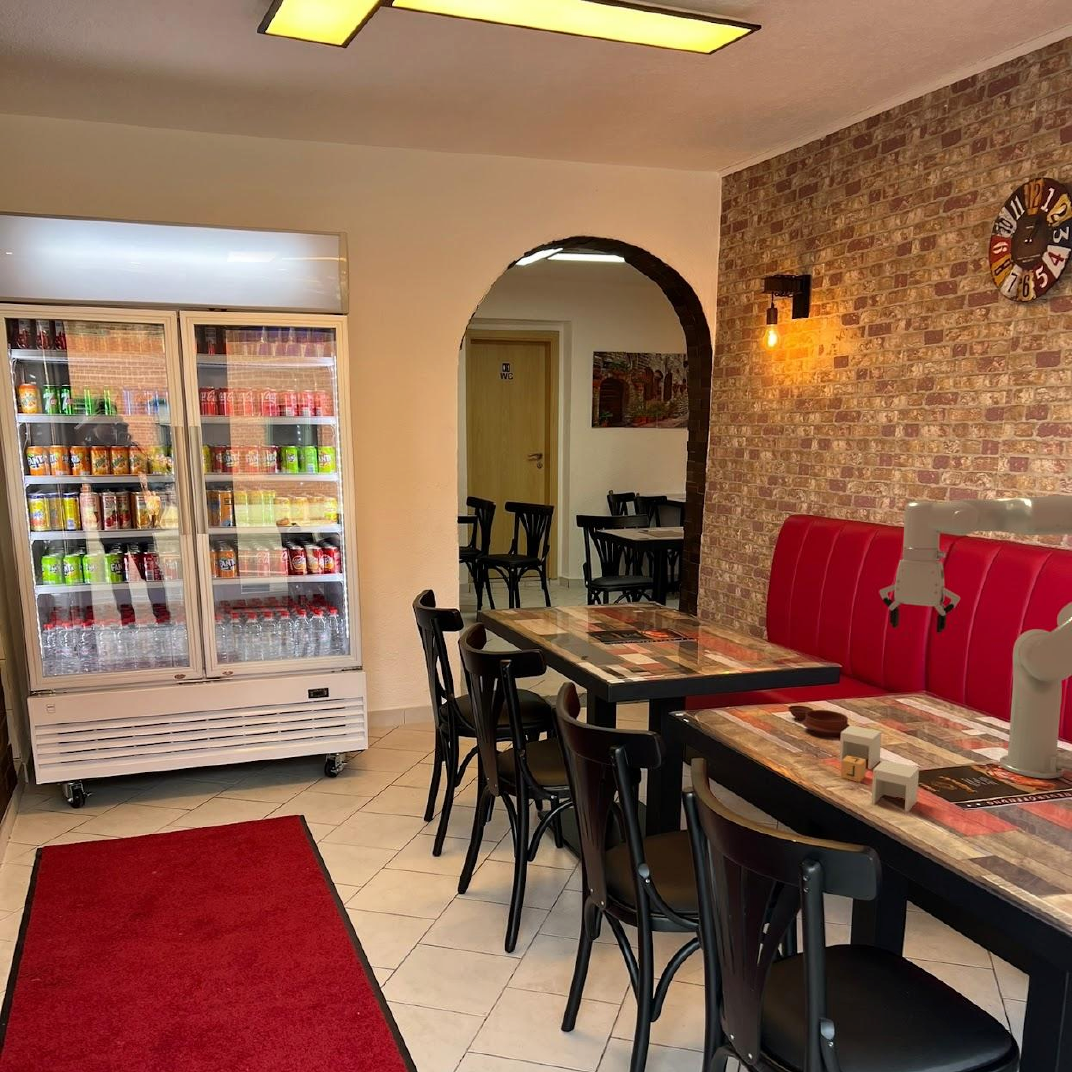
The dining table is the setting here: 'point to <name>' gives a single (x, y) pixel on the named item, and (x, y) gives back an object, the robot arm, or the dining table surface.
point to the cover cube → (861, 744)
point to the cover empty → (895, 782)
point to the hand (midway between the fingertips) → (917, 629)
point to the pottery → (820, 720)
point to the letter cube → (853, 768)
